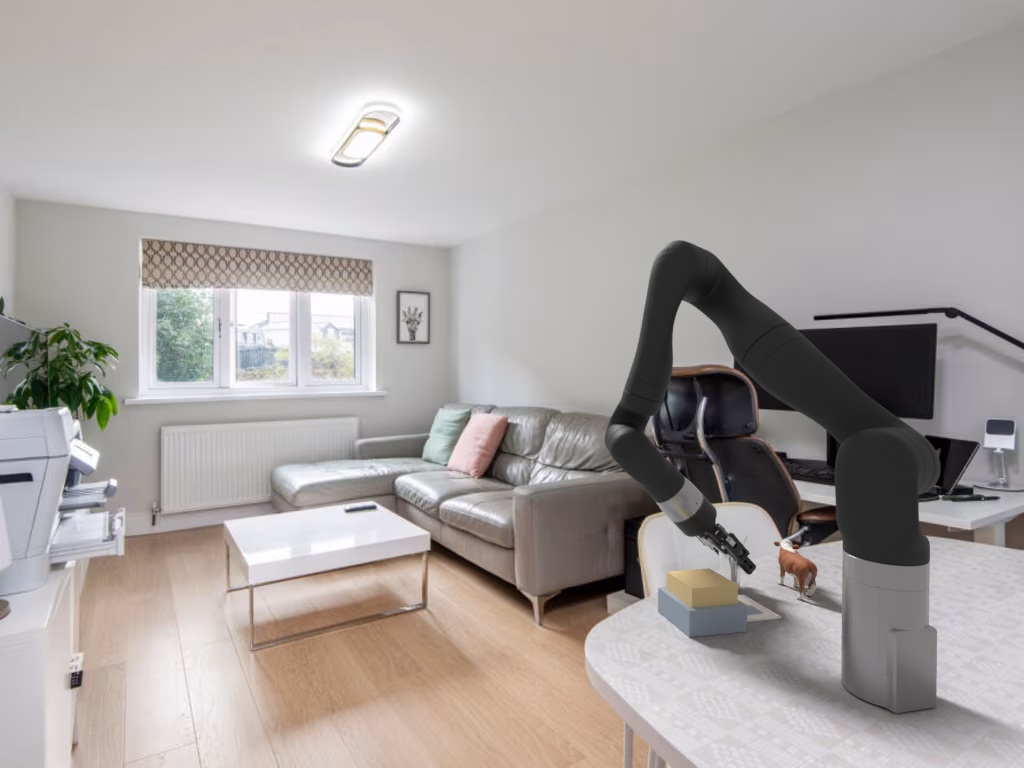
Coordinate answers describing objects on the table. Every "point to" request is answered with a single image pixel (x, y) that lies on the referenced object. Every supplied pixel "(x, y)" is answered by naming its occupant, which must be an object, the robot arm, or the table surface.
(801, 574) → the bull figurine
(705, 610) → the tower base
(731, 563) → the milkshake
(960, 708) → the table surface
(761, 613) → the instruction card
